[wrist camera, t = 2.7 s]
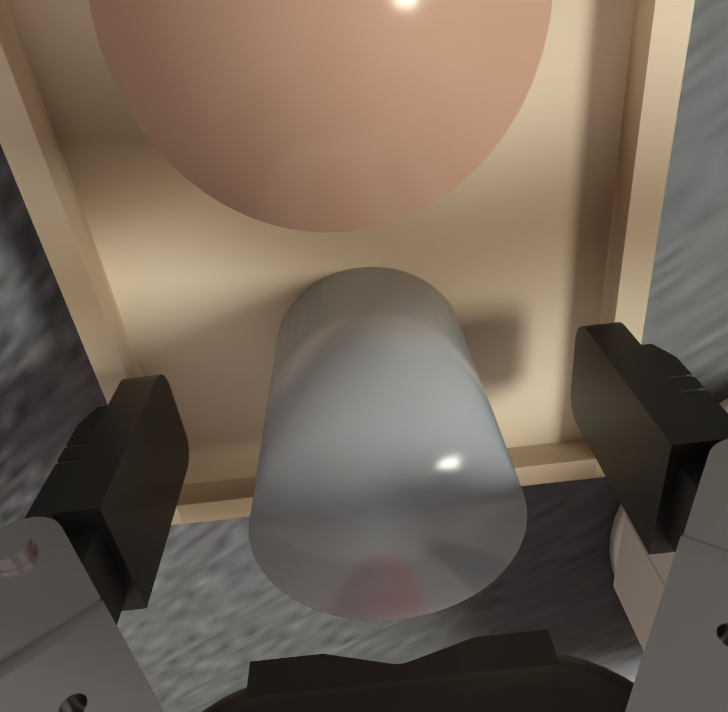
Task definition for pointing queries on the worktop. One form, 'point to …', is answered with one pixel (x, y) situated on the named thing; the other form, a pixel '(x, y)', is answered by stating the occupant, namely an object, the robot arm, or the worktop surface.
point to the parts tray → (351, 236)
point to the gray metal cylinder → (381, 455)
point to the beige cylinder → (323, 97)
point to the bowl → (638, 572)
